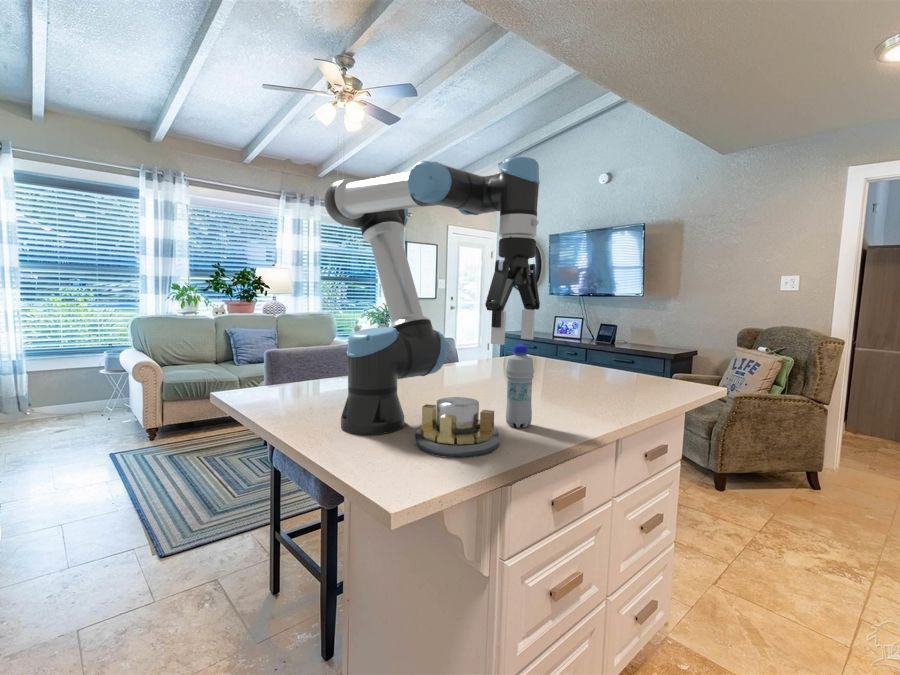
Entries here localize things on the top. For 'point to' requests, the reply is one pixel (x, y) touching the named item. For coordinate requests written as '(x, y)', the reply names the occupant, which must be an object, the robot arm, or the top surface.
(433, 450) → the cap plate
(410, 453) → the top surface
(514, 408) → the bottle
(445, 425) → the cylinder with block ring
